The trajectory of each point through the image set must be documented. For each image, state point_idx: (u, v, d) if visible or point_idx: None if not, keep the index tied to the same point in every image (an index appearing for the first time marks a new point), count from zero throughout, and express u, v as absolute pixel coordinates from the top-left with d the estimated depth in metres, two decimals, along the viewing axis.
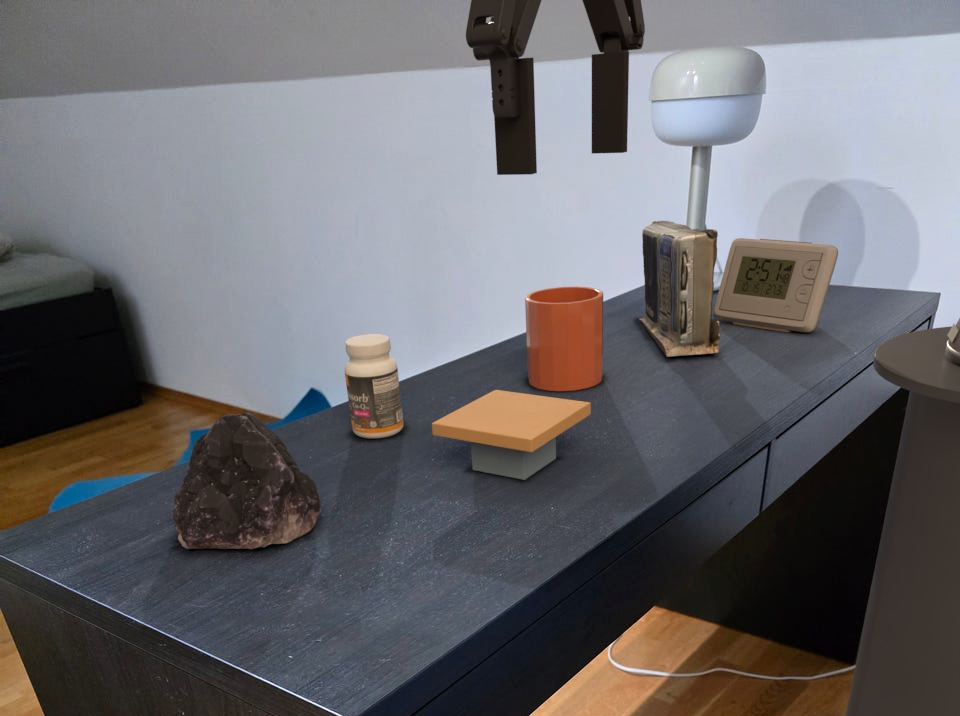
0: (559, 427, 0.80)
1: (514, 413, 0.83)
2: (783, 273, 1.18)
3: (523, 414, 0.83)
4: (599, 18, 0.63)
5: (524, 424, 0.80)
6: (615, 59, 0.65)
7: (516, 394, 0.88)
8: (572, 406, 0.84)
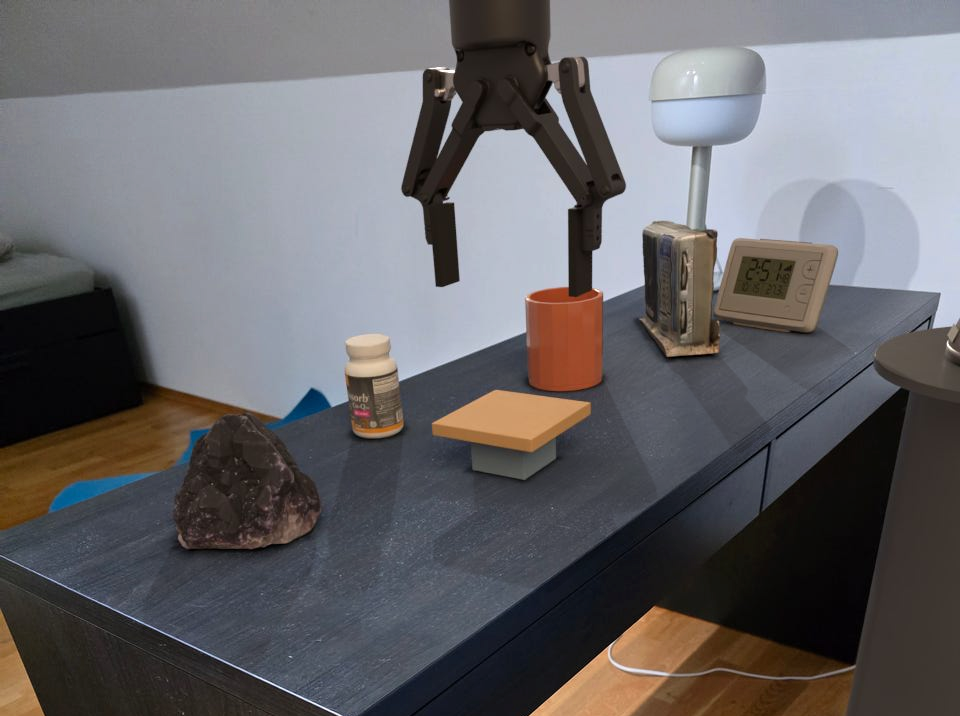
0: (559, 427, 0.80)
1: (514, 413, 0.83)
2: (783, 273, 1.18)
3: (523, 414, 0.83)
4: (447, 177, 0.74)
5: (524, 424, 0.80)
6: (449, 209, 0.77)
7: (516, 394, 0.88)
8: (572, 406, 0.84)
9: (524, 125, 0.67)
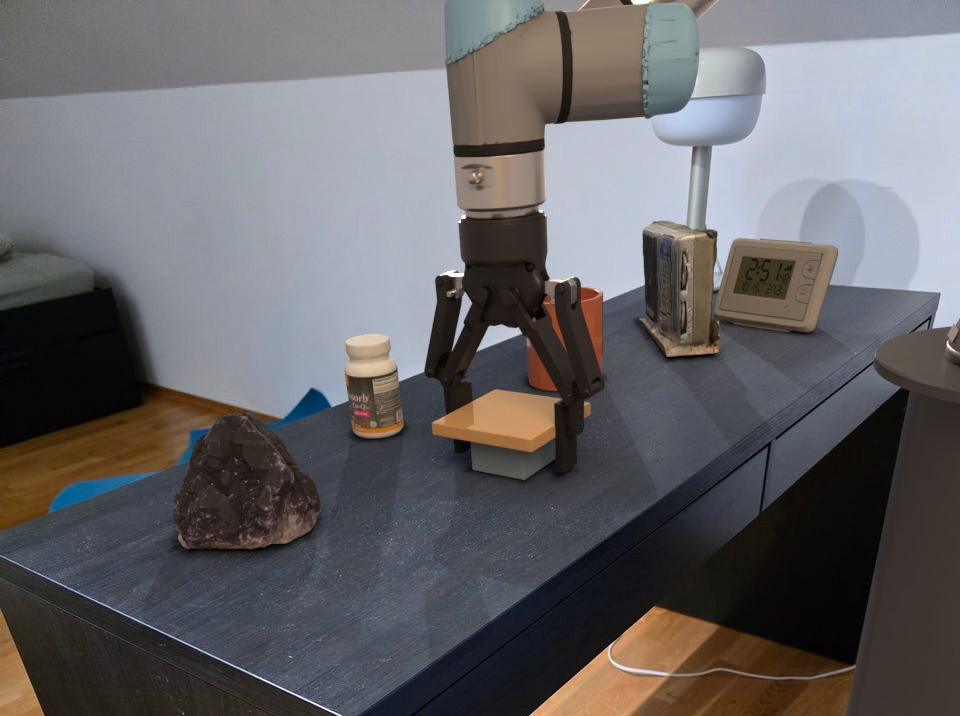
0: None
1: (514, 412, 0.83)
2: (783, 273, 1.18)
3: (523, 414, 0.83)
4: (464, 362, 0.83)
5: (524, 424, 0.80)
6: (467, 388, 0.86)
7: (516, 394, 0.88)
8: None
9: (521, 329, 0.76)
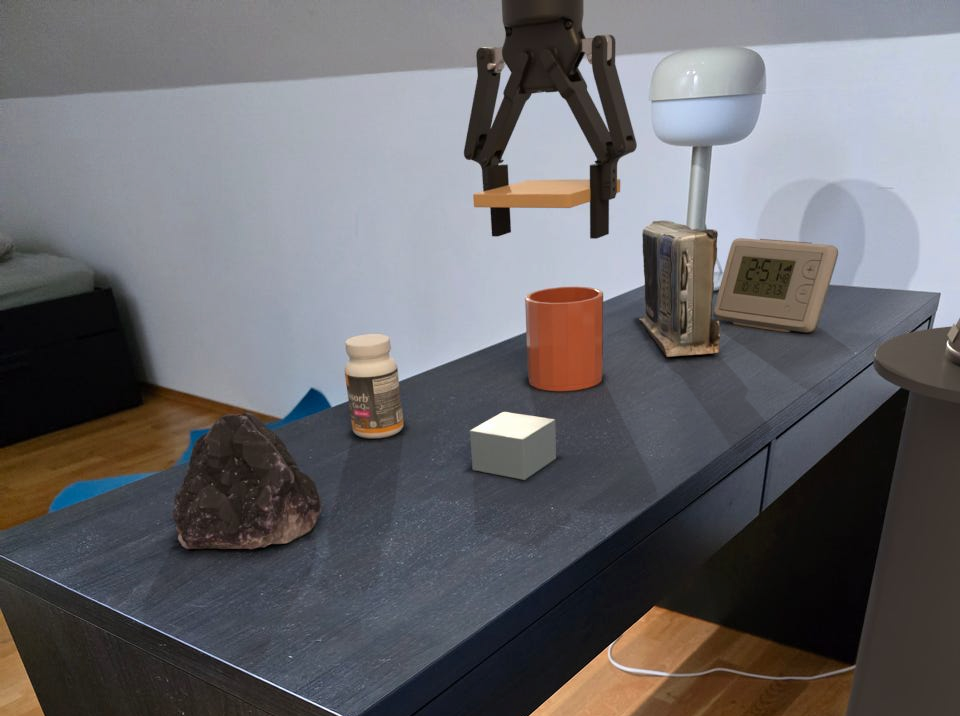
0: None
1: (550, 186, 0.89)
2: (783, 273, 1.18)
3: (558, 186, 0.88)
4: (502, 139, 0.89)
5: (561, 189, 0.86)
6: (504, 169, 0.91)
7: (549, 180, 0.94)
8: None
9: (560, 89, 0.82)
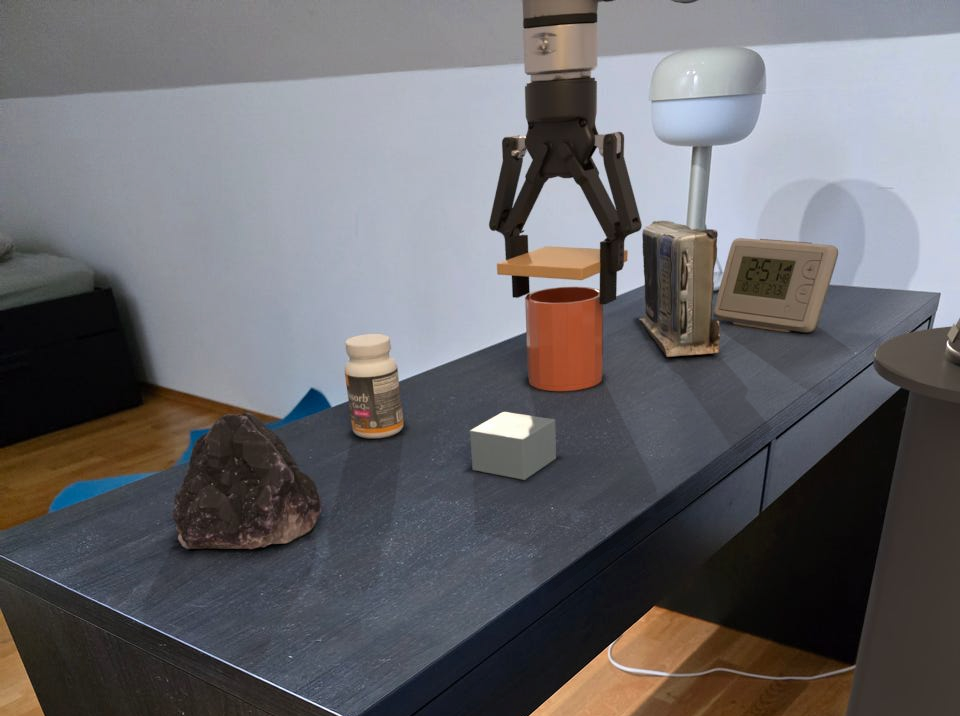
0: None
1: (565, 256, 1.00)
2: (783, 273, 1.18)
3: (572, 257, 1.00)
4: (523, 215, 1.01)
5: (574, 261, 0.98)
6: (524, 239, 1.03)
7: (564, 248, 1.05)
8: None
9: (574, 177, 0.94)
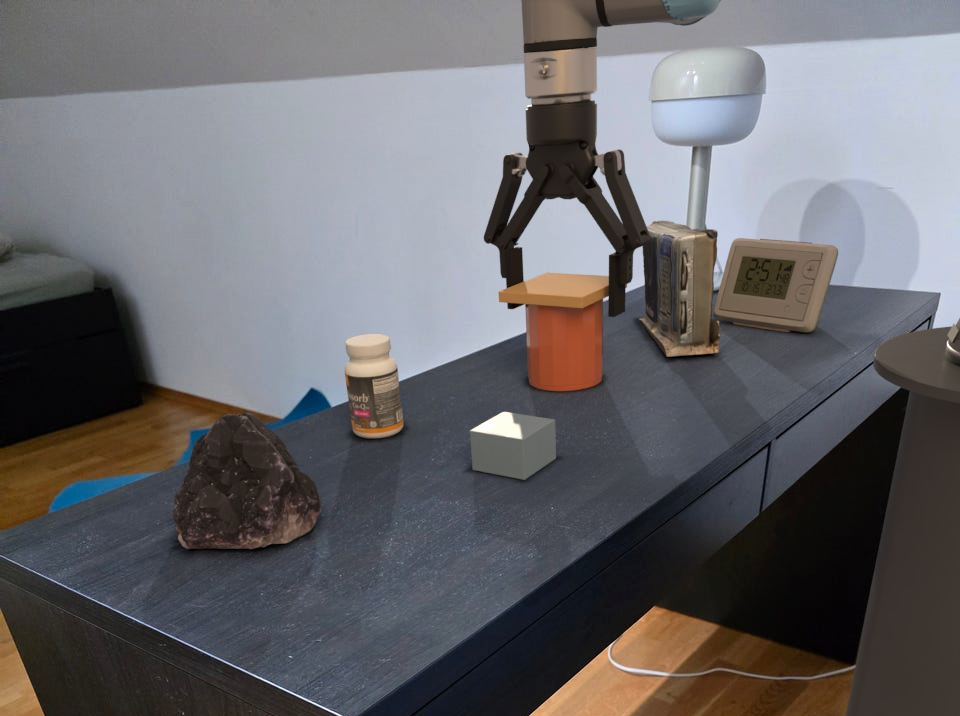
0: (603, 292, 0.99)
1: (565, 284, 1.02)
2: (783, 273, 1.18)
3: (572, 284, 1.02)
4: (518, 230, 1.02)
5: (575, 289, 0.99)
6: (519, 252, 1.04)
7: (564, 274, 1.07)
8: None
9: (578, 196, 0.95)
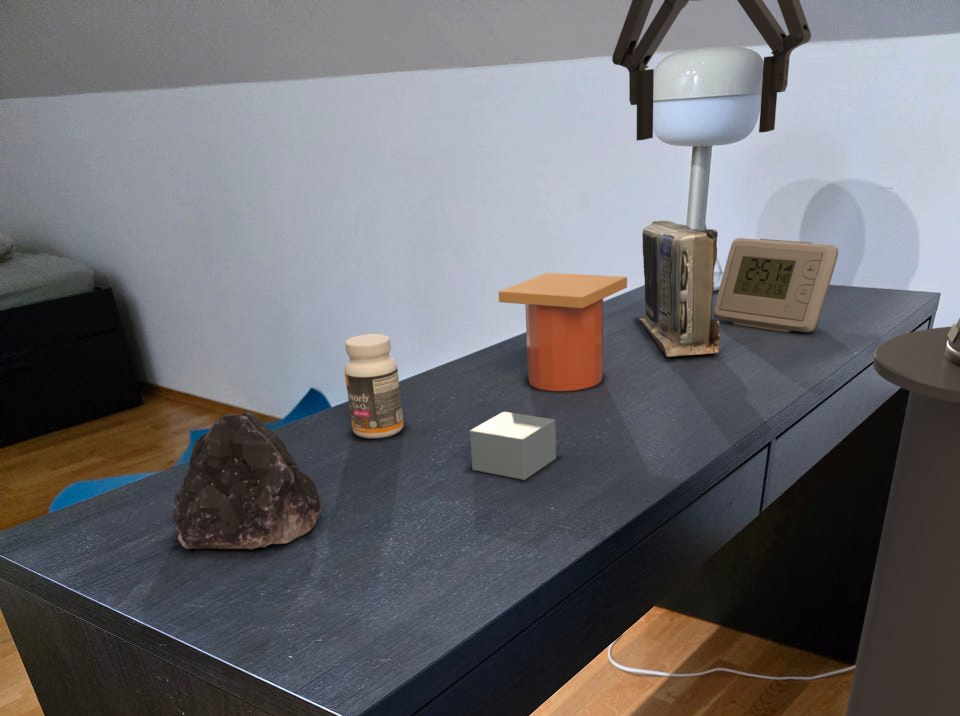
0: (603, 292, 0.99)
1: (565, 284, 1.02)
2: (783, 273, 1.18)
3: (572, 284, 1.02)
4: (653, 45, 0.93)
5: (575, 289, 0.99)
6: (650, 74, 0.95)
7: (564, 274, 1.07)
8: (612, 279, 1.03)
9: None
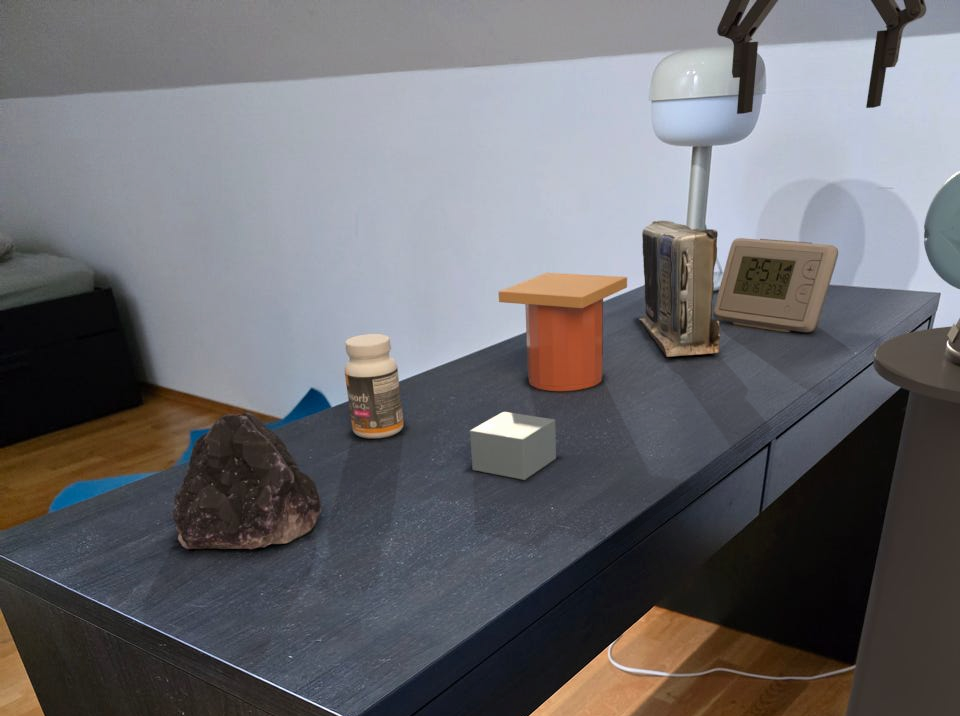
0: (603, 292, 0.99)
1: (565, 284, 1.02)
2: (783, 273, 1.18)
3: (572, 284, 1.02)
4: (761, 16, 0.92)
5: (575, 289, 0.99)
6: (755, 46, 0.94)
7: (564, 274, 1.07)
8: (612, 279, 1.03)
9: None
